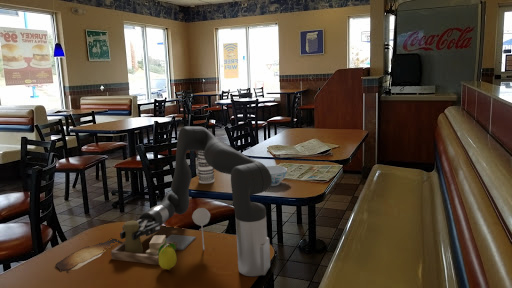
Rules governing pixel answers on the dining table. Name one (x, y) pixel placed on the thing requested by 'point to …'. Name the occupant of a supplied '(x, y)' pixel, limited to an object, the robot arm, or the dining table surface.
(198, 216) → the lollipop
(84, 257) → the parchment
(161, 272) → the dining table surface
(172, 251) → the lemon
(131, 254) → the frame
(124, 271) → the dining table surface
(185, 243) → the pad
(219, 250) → the dining table surface
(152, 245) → the offcut upper
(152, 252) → the offcut lower
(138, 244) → the cork
